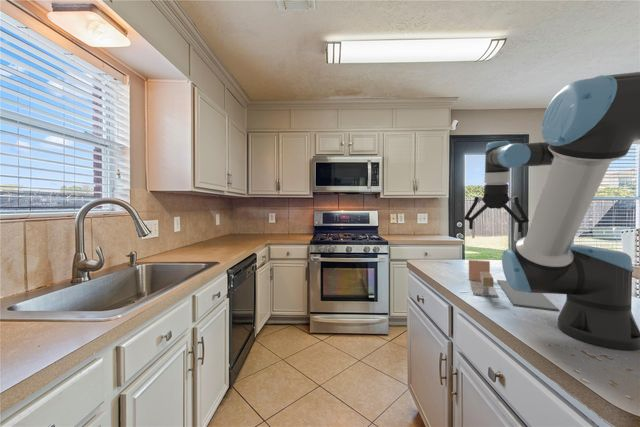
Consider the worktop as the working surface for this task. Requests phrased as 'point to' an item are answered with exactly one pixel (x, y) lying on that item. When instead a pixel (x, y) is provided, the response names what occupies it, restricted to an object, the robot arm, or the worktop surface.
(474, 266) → the terracotta tile
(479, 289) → the steel trowel
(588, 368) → the worktop surface
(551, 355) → the worktop surface
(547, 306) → the rubber mat
